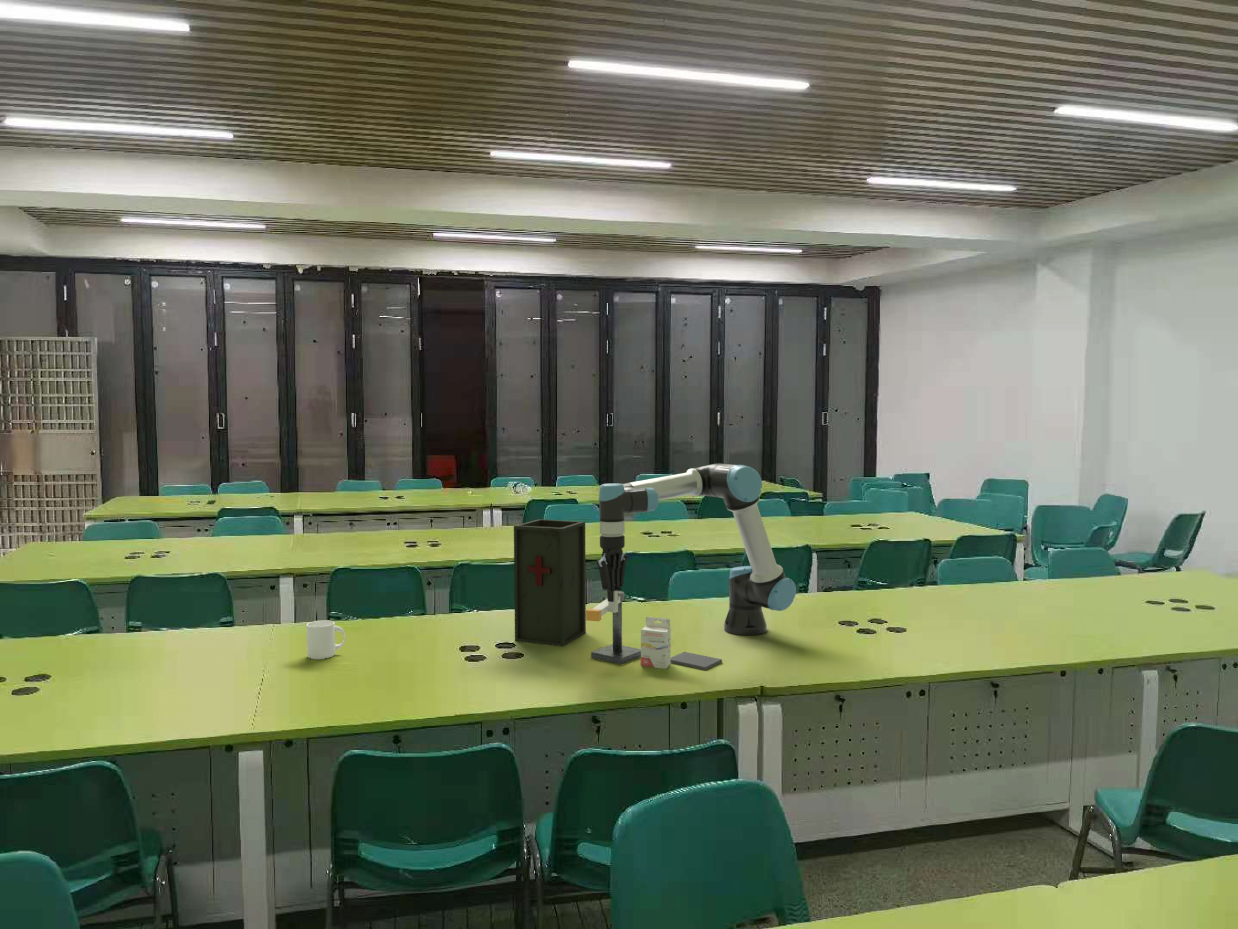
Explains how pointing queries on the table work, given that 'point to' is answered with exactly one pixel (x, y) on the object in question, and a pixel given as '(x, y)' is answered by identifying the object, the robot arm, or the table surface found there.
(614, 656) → the arm post
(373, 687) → the table surface
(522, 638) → the first aid box
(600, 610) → the bar
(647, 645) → the ink cartridge box
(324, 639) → the mug
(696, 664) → the rubber mat
